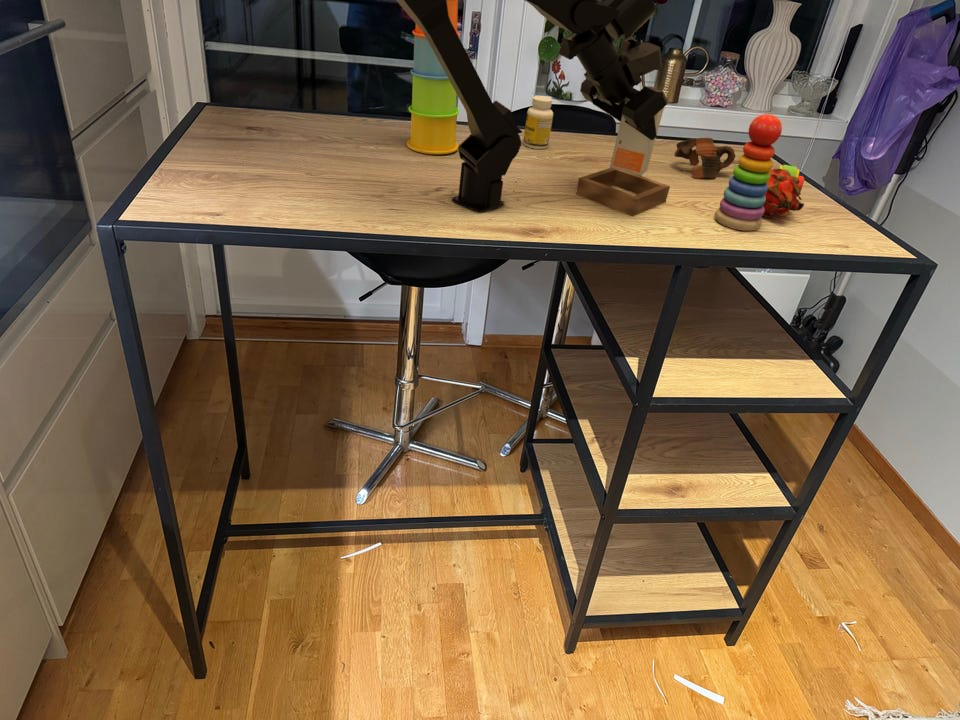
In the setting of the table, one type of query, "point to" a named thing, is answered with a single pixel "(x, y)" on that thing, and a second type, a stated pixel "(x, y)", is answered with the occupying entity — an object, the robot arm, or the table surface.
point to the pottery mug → (705, 156)
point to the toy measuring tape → (794, 174)
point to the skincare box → (633, 148)
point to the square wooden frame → (600, 191)
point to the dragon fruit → (781, 193)
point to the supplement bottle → (538, 123)
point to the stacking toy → (750, 177)
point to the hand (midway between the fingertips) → (642, 131)
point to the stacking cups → (432, 98)
